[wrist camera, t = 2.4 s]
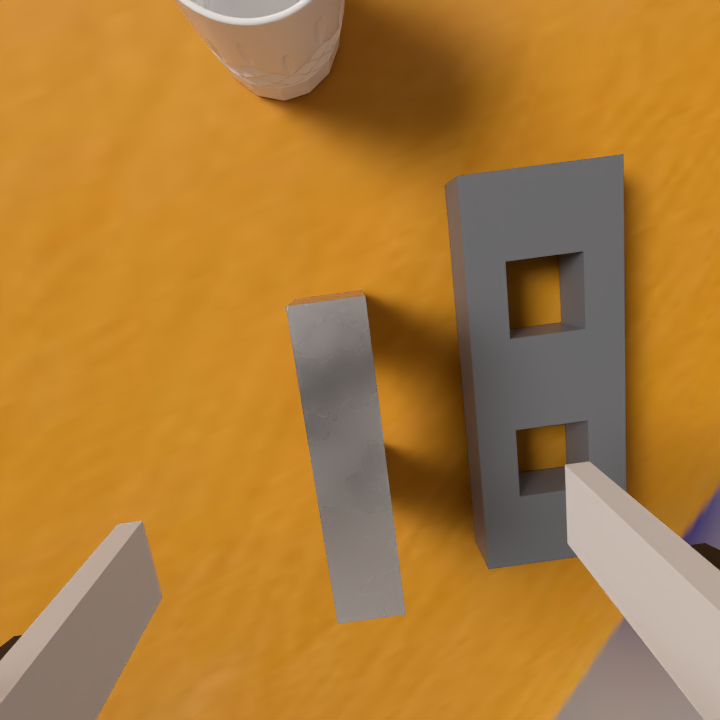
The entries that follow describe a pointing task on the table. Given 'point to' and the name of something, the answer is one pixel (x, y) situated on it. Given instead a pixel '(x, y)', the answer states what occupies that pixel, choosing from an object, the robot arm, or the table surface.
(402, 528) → the table surface
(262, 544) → the table surface
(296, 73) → the white cup
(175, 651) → the table surface
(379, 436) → the light gray u-shaped block
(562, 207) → the grey slotted base plate
